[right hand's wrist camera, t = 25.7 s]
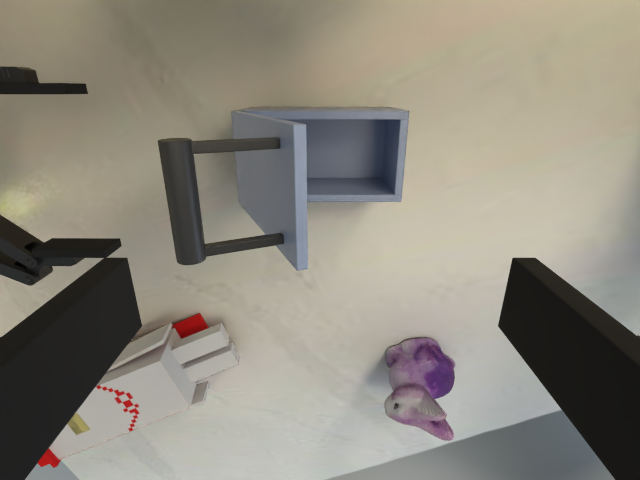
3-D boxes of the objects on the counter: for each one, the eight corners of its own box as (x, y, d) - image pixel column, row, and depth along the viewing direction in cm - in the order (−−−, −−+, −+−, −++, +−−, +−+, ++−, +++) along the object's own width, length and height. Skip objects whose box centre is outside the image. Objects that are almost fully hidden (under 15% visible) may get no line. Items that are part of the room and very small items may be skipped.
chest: (391, 107, 46) (409, 111, 37) (386, 182, 50) (401, 201, 41) (252, 107, 46) (236, 110, 37) (257, 182, 50) (243, 201, 41)
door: (306, 124, 22) (156, 129, 19) (308, 269, 25) (182, 293, 22) (239, 110, 37) (150, 112, 34) (246, 202, 41) (166, 211, 37)
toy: (244, 399, 51) (44, 479, 51) (249, 343, 64) (89, 408, 64) (204, 331, 47) (-13, 418, 47) (218, 286, 60) (47, 354, 60)
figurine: (369, 360, 61) (384, 440, 47) (416, 322, 58) (447, 395, 44) (407, 391, 63) (432, 475, 49) (454, 356, 60) (495, 435, 46)
